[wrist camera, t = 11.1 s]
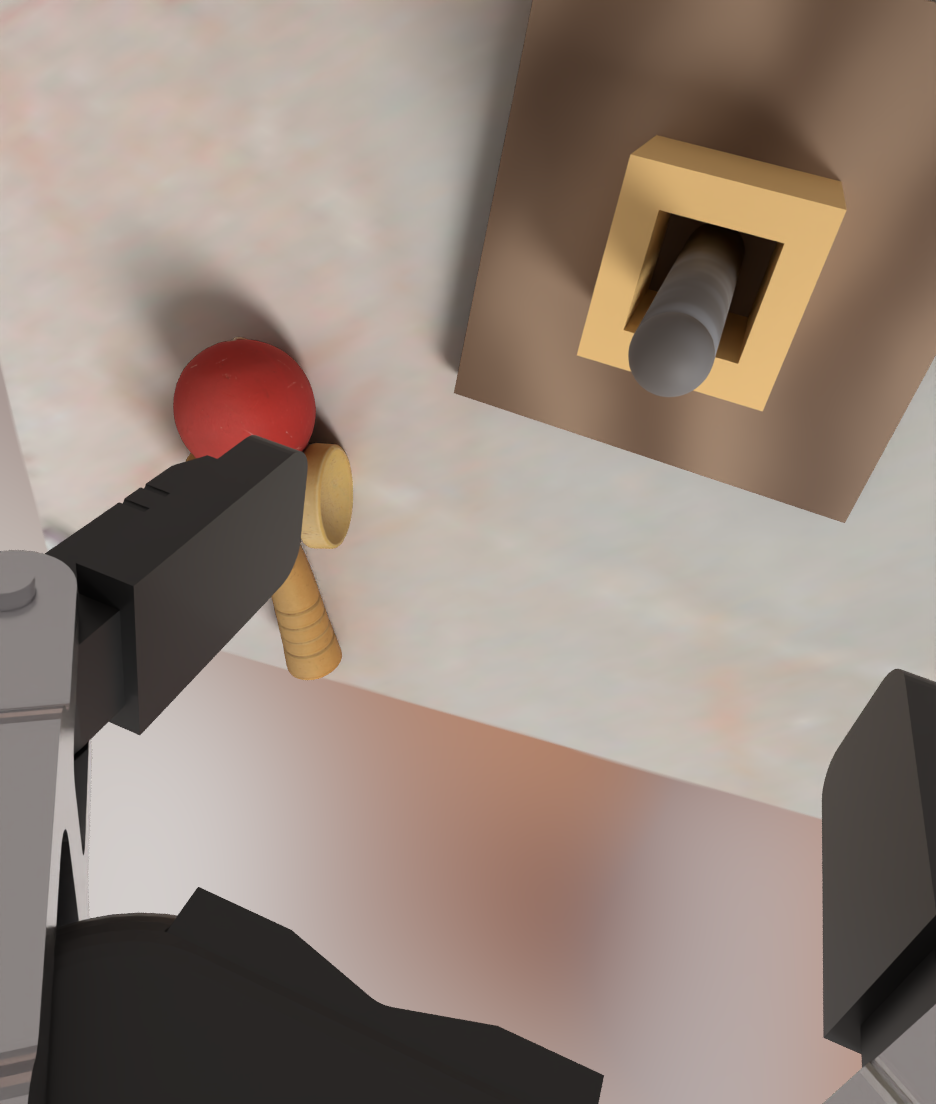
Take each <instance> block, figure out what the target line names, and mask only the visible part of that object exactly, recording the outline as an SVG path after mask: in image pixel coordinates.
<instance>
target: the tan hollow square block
mask: <svg viewBox="0 0 936 1104" xmlns="http://www.w3.org/2000/svg"><path fill="white" fill-rule="evenodd" d="M846 211H847V209H846V203H845V198H844V193H843V187H842V182H841V181H837V180H833V179H829V178H825V177H821V176H817V175H813V174H809V173H805V172H801V171H797V170H793V169H789V168H785V167H781V166H777V165H774V164H770V163H766V162H762V161H758V160H754V159H750V158H746V157H742V156H738V155H734V154H730V153H726V152H722V151H718V150H714V149H710V148H706V147H702V146H698V145H694V144H690V143H686V142H682V141H678V140H674V139H670V138H666V137H662V136H658V135H656V136H655V137H653V138H652V139H651V140H649V141H648V142H647V143H645V144H644V145H642V146H641V147H640V148H638V149H637V150H636V151H634V152H633V153H632V154H630V158H629V162H628V165H627V169H626V173H625V177H624V180H623V184H622V188H621V191H620V195H619V199H618V203H617V206H616V210H615V214H614V218H613V221H612V225H611V229H610V233H609V236H608V240H607V244H606V248H605V251H604V255H603V259H602V262H601V266H600V270H599V274H598V277H597V281H596V285H595V289H594V292H593V296H592V300H591V304H590V307H589V311H588V315H587V318H586V322H585V326H584V330H583V333H582V337H581V341H580V345H579V348H578V352H577V356H581V357H584V358H587V359H591V360H594V361H597V362H601V363H604V364H607V365H611V366H614V367H617V368H620V369H624V370H627V371H630V372H631V370H630V366H629V360H628V352H629V346H630V342H631V340H632V337H633V335H634V333H635V332H636V330H637V328H638V326H639V325H640V323H641V321H642V319H643V317H644V316H645V314H646V312H647V310H648V309H649V307H650V305H651V303H652V302H653V300H654V298H655V296H656V294H657V293H658V292H657V291H653V290H650V289H649V285H650V282H651V279H652V275H653V272H654V269H655V266H656V262H657V259H658V256H659V252H660V249H661V246H662V243H663V239H664V236H665V233H666V229H667V226H668V223H669V220H670V216H671V213H672V214H676V215H680V216H684V217H687V218H691V219H695V220H699V221H702V222H706V223H710V224H714V225H717V226H721V227H725V228H729V229H732V230H736V231H740V232H744V233H747V234H751V235H755V236H759V237H762V238H766V239H770V240H774V241H777V243H776V245H775V248H774V251H773V253H772V256H771V259H770V261H769V264H768V266H767V269H766V272H765V274H764V277H763V280H762V282H761V285H760V288H759V290H758V293H757V295H756V298H755V301H754V303H753V306H752V309H751V311H750V314H749V316H748V317H745V316H741V315H738V314H734V313H730V312H728V314H727V318H726V321H725V325H724V328H723V332H722V335H721V339H720V342H719V346H718V349H717V353H716V356H715V360H714V363H713V366H712V369H711V371H710V373H709V375H708V376H707V378H706V379H705V380H704V382H703V383H702V384H701V385H699V386H698V387H697V388H696V389H694V390H693V391H697V392H700V393H703V394H706V395H710V396H713V397H716V398H720V399H723V400H726V401H730V402H733V403H736V404H740V405H743V406H746V407H749V408H753V409H756V410H759V411H763V409H764V407H765V405H766V402H767V400H768V397H769V395H770V393H771V390H772V388H773V385H774V383H775V381H776V378H777V376H778V374H779V371H780V369H781V366H782V364H783V362H784V359H785V357H786V354H787V352H788V350H789V347H790V345H791V342H792V340H793V338H794V335H795V333H796V330H797V328H798V326H799V323H800V321H801V318H802V316H803V314H804V311H805V309H806V306H807V304H808V302H809V299H810V297H811V294H812V292H813V290H814V287H815V285H816V282H817V280H818V278H819V275H820V273H821V270H822V268H823V266H824V263H825V261H826V259H827V256H828V254H829V251H830V249H831V247H832V244H833V242H834V239H835V237H836V235H837V232H838V230H839V227H840V225H841V223H842V220H843V218H844V215H845V213H846Z"/></svg>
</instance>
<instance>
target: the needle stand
mask: <svg viewBox="0 0 936 1104" xmlns="http://www.w3.org/2000/svg"><path fill="white" fill-rule="evenodd" d="M656 135H658V136H662V137H666V138H670V139H674V140H678V141H682V142H686V143H690V144H694V145H698V146H702V147H706V148H710V149H714V150H718V151H722V152H726V153H730V154H734V155H738V156H742V157H746V158H750V159H754V160H758V161H762V162H766V163H770V164H774V165H777V166H781V167H785V168H789V169H793V170H797V171H801V172H805V173H809V174H813V175H817V176H821V177H825V178H829V179H833V180H837V181H841V182H842V187H843V193H844V198H845V203H846V209H847V211H846V213H845V215H844V218H843V220H842V223H841V225H840V227H839V230H838V232H837V235H836V237H835V239H834V242H833V244H832V247H831V249H830V251H829V254H828V256H827V259H826V261H825V263H824V266H823V268H822V270H821V273H820V275H819V278H818V280H817V282H816V285H815V287H814V290H813V292H812V294H811V297H810V299H809V302H808V304H807V306H806V309H805V311H804V314H803V316H802V318H801V321H800V323H799V326H798V328H797V330H796V333H795V335H794V338H793V340H792V342H791V345H790V347H789V350H788V352H787V354H786V357H785V359H784V362H783V364H782V366H781V369H780V371H779V374H778V376H777V378H776V381H775V383H774V385H773V388H772V390H771V393H770V395H769V397H768V400H767V402H766V405H765V407H764V409H763V411H759V410H756V409H753V408H749V407H746V406H743V405H740V404H736V403H733V402H730V401H726V400H723V399H720V398H716V397H713V396H710V395H706V394H703V393H700V392H697V391H693V390H694V389H696V388H697V387H698V386H699V385H701V384H702V383H703V382H704V380H705V379H706V378H707V376H708V375H709V373H710V371H711V369H712V366H713V363H714V360H715V356H716V353H717V349H718V346H719V342H720V339H721V335H722V332H723V328H724V325H725V321H726V318H727V314H728V312H730V313H734V314H738V315H741V316H745V317H748V316H749V314H750V311H751V309H752V306H753V303H754V301H755V298H756V295H757V293H758V290H759V288H760V285H761V282H762V280H763V277H764V274H765V272H766V269H767V266H768V264H769V261H770V259H771V256H772V253H773V251H774V248H775V245H776V243H777V241H774V240H770V239H766V238H762V237H759V236H755V235H751V234H747V233H744V232H740V231H736V230H732V229H729V228H725V227H721V226H717V225H714V224H710V223H706V222H702V221H699V220H695V219H691V218H687V217H684V216H680V215H676V214H672V213H671V216H670V220H669V223H668V226H667V229H666V233H665V236H664V239H663V243H662V246H661V249H660V252H659V256H658V259H657V262H656V266H655V269H654V272H653V275H652V279H651V282H650V285H649V289H650V290H653V291H657V292H658V293H657V294H656V296H655V298H654V300H653V302H652V303H651V305H650V307H649V309H648V310H647V312H646V314H645V316H644V317H643V319H642V321H641V323H640V325H639V326H638V328H637V330H636V332H635V333H634V335H633V337H632V340H631V342H630V346H629V352H628V360H629V366H630V370H631V372H630V371H627V370H624V369H620V368H617V367H614V366H611V365H607V364H604V363H601V362H597V361H594V360H591V359H587V358H584V357H581V356H577V352H578V348H579V345H580V341H581V337H582V333H583V330H584V326H585V322H586V318H587V315H588V311H589V307H590V304H591V300H592V296H593V292H594V289H595V285H596V281H597V277H598V274H599V270H600V266H601V262H602V259H603V255H604V251H605V248H606V244H607V240H608V236H609V233H610V229H611V225H612V221H613V218H614V214H615V210H616V206H617V203H618V199H619V195H620V191H621V188H622V184H623V180H624V177H625V173H626V169H627V165H628V162H629V158H630V154H632V153H633V152H634V151H636V150H637V149H638V148H640V147H641V146H642V145H644V144H645V143H647V142H648V141H649V140H651V139H652V138H653V137H655V136H656ZM935 355H936V2H932V1H928V0H533V1H532V6H531V11H530V16H529V21H528V26H527V31H526V36H525V41H524V46H523V51H522V56H521V61H520V66H519V71H518V76H517V81H516V86H515V91H514V96H513V101H512V106H511V111H510V116H509V121H508V126H507V131H506V135H505V140H504V145H503V150H502V155H501V160H500V165H499V170H498V175H497V180H496V185H495V190H494V195H493V200H492V205H491V210H490V215H489V220H488V225H487V230H486V235H485V240H484V245H483V250H482V255H481V260H480V265H479V270H478V275H477V280H476V285H475V290H474V295H473V300H472V305H471V310H470V315H469V320H468V325H467V330H466V335H465V340H464V345H463V350H462V355H461V360H460V365H459V370H458V375H457V380H456V385H455V390H454V393H456V394H459V395H462V396H465V397H468V398H471V399H474V400H477V401H480V402H483V403H486V404H489V405H492V406H495V407H498V408H501V409H504V410H507V411H510V412H513V413H516V414H519V415H522V416H525V417H528V418H531V419H534V420H537V421H540V422H543V423H546V424H549V425H552V426H555V427H558V428H561V429H564V430H567V431H570V432H573V433H576V434H579V435H582V436H585V437H588V438H591V439H594V440H597V441H600V442H603V443H606V444H609V445H612V446H615V447H618V448H621V449H624V450H627V451H630V452H633V453H636V454H639V455H642V456H645V457H648V458H651V459H654V460H657V461H660V462H663V463H666V464H669V465H672V466H675V467H678V468H681V469H684V470H687V471H690V472H693V473H696V474H699V475H702V476H705V477H708V478H711V479H714V480H717V481H720V482H723V483H726V484H729V485H732V486H735V487H738V488H741V489H744V490H747V491H750V492H753V493H756V494H759V495H762V496H765V497H768V498H771V499H774V500H777V501H780V502H783V503H786V504H789V505H792V506H795V507H798V508H801V509H804V510H807V511H810V512H813V513H816V514H819V515H822V516H825V517H828V518H831V519H834V520H837V521H840V522H843V523H845V522H846V520H847V518H848V516H849V514H850V512H851V510H852V509H853V507H854V505H855V503H856V501H857V499H858V498H859V496H860V494H861V492H862V490H863V488H864V486H865V485H866V483H867V481H868V479H869V477H870V475H871V474H872V472H873V470H874V468H875V466H876V464H877V462H878V461H879V459H880V457H881V455H882V453H883V451H884V450H885V448H886V446H887V444H888V442H889V440H890V438H891V437H892V435H893V433H894V431H895V429H896V427H897V426H898V424H899V422H900V420H901V418H902V416H903V414H904V413H905V411H906V409H907V407H908V405H909V403H910V402H911V400H912V398H913V396H914V394H915V392H916V390H917V389H918V387H919V385H920V383H921V381H922V379H923V378H924V376H925V374H926V372H927V370H928V368H929V367H930V365H931V363H932V361H933V359H934V357H935Z"/></svg>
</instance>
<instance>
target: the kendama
mask: <svg viewBox="0 0 936 1104" xmlns="http://www.w3.org/2000/svg"><path fill="white" fill-rule="evenodd" d="M173 409H174V419H175V423H176V427H177V430H178V432H179V434H180V437H181V439H182V441H183V442H184V444H185V445H186V447H187V448H188V449H189V451H190V452H191V453H190V455H189V456H188V458H187V460H186V462H187V461H190V460H193V459H196V458H200V457H203V456H206V455H208V456H211V457H214V458H217V459H218V458H219V457H221V456H222V455H223V454H225V453H226V452H227V451H229V450H230V449H232V448H233V447H234V446H236V445H237V444H238V443H240V442H241V441H242V440H244V439H245V438H247V437H248V436H251V435H257V436H260V437H262V438H265V439H268V440H271V441H274V442H276V443H279V444H282V445H285V446H287V447H290V448H293V449H296V450H298V451H301V452H303V453H304V454H305V455H306V457H307V463H308V470H307V481H306V491H305V501H304V511H303V522H302V532H301V540H302V541H303V543H304V544H305V545H306V546H308V547H310V548H326V549H333V548H337V547H338V546H339V545H340V544H341V543H342V542H343V540H344V538H345V536H346V534H347V531H348V528H349V524H350V520H351V514H352V507H353V481H352V473H351V468H350V463H349V460H348V458H347V455H346V453H345V452H344V450H343V449H342V448H341V447H340V446H339V445H336V444H323V443H313V444H311V445H309V444H308V442H309V439H310V437H311V435H312V432H313V428H314V424H315V417H316V407H315V399H314V395H313V391H312V388H311V385H310V383H309V380H308V379H307V377H306V375H305V373H304V372H303V370H302V369H301V368H300V366H299V365H298V364H297V363H296V362H295V361H294V360H293V359H292V358H291V357H290V356H289V355H288V354H286V353H285V352H284V351H282V350H280V349H278V348H277V347H274V346H272V345H270V344H267V343H264V342H260V341H255V340H248V339H246V338H242V337H236V338H234V339H233V340H230V341H225V342H221V343H217V344H215V345H213V346H211V347H209V348H207V349H205V350H203V351H202V352H201V353H199V354H198V355H197V356H196V357H194V358H193V359H192V360H191V361H190V362H189V363H188V365H187V366H186V367H185V368H184V370H183V372H182V373H181V375H180V378H179V379H178V382H177V384H176V389H175V393H174V403H173ZM271 597H272V601H273V604H274V609H275V613H276V617H277V620H278V626H279V630H280V633H281V639H282V643H283V648H284V654H285V659H286V664H287V667H288V670H289V672H290V673H291V674H292V675H293V676H294V677H296V678H298V679H302V680H314V679H319V678H322V677H324V676H326V675H328V674H329V673H331V672H332V671H333V670H334V669H335V668H336V667H337V666H338V665H339V663H340V661H341V658H342V652H341V648H340V646H339V644H338V641H337V639H336V636H335V634H334V632H333V628H332V626H331V623H330V621H329V618H328V615H327V612H326V610H325V607H324V604H323V601H322V598H321V595H320V593H319V590H318V587H317V584H316V581H315V578H314V575H313V573H312V570H311V567H310V565H309V562H308V560H307V558H306V556H305V553H304V551H303V549H302V547H301V545H300V548H299V552H298V556H297V559H296V561H295V564H294V566H293V569H292V571H291V572H290V574H289V576H288V578H287V579H286V581H285V582H284V583H283V585H282V586H281V587H280V588H279V589H278V590H277V591H276V592H275V593H274V594H273V595H272V596H271Z"/></svg>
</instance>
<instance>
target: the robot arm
mask: <svg viewBox="0 0 936 1104" xmlns="http://www.w3.org/2000/svg"><path fill="white" fill-rule="evenodd" d="M307 470H308V463H307V457H306V455H305V454H304V453H303V452H301V451H298V450H296V449H293V448H290V447H287V446H285V445H282V444H279V443H276V442H274V441H271V440H268V439H265V438H262V437H260V436H257V435H251V436H248V437H247V438H245V439H244V440H242V441H241V442H240V443H238V444H237V445H236V446H234V447H233V448H232V449H230V450H229V451H227V452H226V453H225V454H223V455H222V456H221V457H219V458H218V459H217V458H214V457H211V456H208V455H206V456H203V457H200V458H196V459H193V460H190V461H187V462H183V463H180V464H177V465H173V466H171V467H170V468H168V469H167V470H165V471H164V472H162V473H161V474H159V475H158V476H157V477H155V478H154V479H152V480H151V481H149V482H148V483H146V486H145V488H144V489H143V488H139V489H138V490H136V491H135V492H133V493H132V494H131V495H129V496H128V497H126V498H125V499H124V502H123V504H122V503H117V504H116V505H115V506H113V507H112V508H110V509H109V510H107V511H106V512H104V513H103V514H102V515H100V516H99V517H97V518H96V519H94V520H93V521H91V522H90V523H89V524H87V525H86V526H84V527H83V528H81V529H80V530H78V531H77V532H76V533H74V534H73V535H71V536H70V537H68V538H67V539H65V540H64V541H63V542H61V543H60V544H58V545H57V546H55V547H54V548H52V549H51V550H49V551H48V552H47V553H45V554H43V553H38V552H33V551H24V550H22V551H21V550H9V551H0V1104H598V1102H599V1097H600V1092H601V1088H602V1082H603V1077H604V1075H602V1074H600V1073H598V1072H595V1071H593V1070H591V1069H589V1068H587V1067H585V1066H583V1065H580V1064H578V1063H576V1062H574V1061H572V1060H570V1059H567V1058H565V1057H563V1056H561V1055H559V1054H557V1053H555V1052H552V1051H550V1050H548V1049H546V1048H544V1047H542V1046H540V1045H537V1044H535V1043H533V1042H531V1041H529V1040H527V1039H524V1038H522V1037H520V1036H518V1035H516V1034H514V1033H511V1032H509V1031H507V1030H505V1029H503V1028H501V1027H499V1026H494V1025H488V1024H483V1023H478V1022H472V1021H467V1020H461V1019H455V1018H450V1017H444V1016H438V1015H433V1014H427V1013H422V1012H416V1011H410V1010H405V1009H399V1008H393V1007H389V1006H385V1005H383V1004H381V1003H379V1002H377V1001H375V1000H374V999H372V998H371V997H370V996H369V995H367V994H366V993H365V992H364V991H363V990H362V989H360V988H359V987H358V986H357V985H355V984H354V983H353V982H352V981H351V980H350V979H349V978H347V977H346V976H345V975H344V974H343V973H341V972H340V971H339V970H338V969H337V968H336V967H334V966H333V965H332V964H331V963H330V962H329V961H327V960H326V959H325V958H324V957H323V956H321V955H320V954H319V953H318V952H317V951H316V950H314V949H313V948H312V947H311V946H310V945H308V944H307V943H306V942H305V941H303V940H302V939H301V938H300V937H299V936H298V935H297V934H295V933H294V932H293V931H292V930H290V929H288V928H286V927H283V926H281V925H279V924H277V923H275V922H273V921H270V920H269V919H266V918H264V917H262V916H260V915H258V914H256V913H253V912H251V911H249V910H247V909H245V908H243V907H241V906H238V905H236V904H234V903H232V902H230V901H228V900H225V899H223V898H221V897H219V896H217V895H215V894H213V893H210V892H208V891H206V890H204V889H202V888H200V887H198V888H197V889H196V891H195V892H194V893H193V895H192V896H191V898H190V899H189V900H188V902H187V903H186V905H185V906H184V907H183V909H182V910H181V912H180V913H179V914H178V916H176V915H170V914H156V913H128V914H113V915H107V916H101V917H96V918H90V919H89V903H88V902H89V901H88V862H89V831H90V801H91V771H92V770H91V769H92V745H91V738H92V737H93V736H94V735H95V734H96V733H97V732H98V731H99V730H100V729H101V728H102V727H103V726H104V725H106V724H107V723H108V722H111V723H113V724H115V725H118V726H120V727H122V728H125V729H127V730H129V731H131V732H134V733H136V734H138V735H141V734H142V733H143V731H145V729H146V728H147V727H148V726H149V725H150V724H151V723H152V722H153V721H154V720H155V719H156V718H157V717H158V716H159V715H160V714H161V712H162V711H163V710H164V709H165V708H166V707H167V706H168V705H169V704H170V703H171V702H172V701H173V700H174V699H175V698H176V696H178V695H179V693H180V692H181V691H182V690H183V689H184V688H185V687H186V686H187V685H188V684H189V683H190V682H191V681H192V680H193V679H194V678H195V676H196V675H198V673H199V672H200V671H201V670H202V669H203V668H204V667H205V666H206V665H207V664H208V663H209V662H210V661H211V660H212V659H213V657H215V655H216V654H217V653H218V652H219V651H220V650H221V649H222V648H223V647H224V646H225V645H226V644H227V643H228V642H229V641H230V640H231V639H232V638H233V636H234V635H235V634H236V633H237V632H238V631H239V630H240V629H241V628H242V627H243V626H244V625H245V624H246V623H247V622H248V621H249V620H250V619H251V617H252V616H253V615H254V614H255V613H256V612H257V611H258V610H259V609H260V608H261V607H262V606H263V605H264V604H265V603H266V602H267V601H268V599H269V598H270V597H271V596H272V595H273V594H274V593H275V592H276V591H277V590H278V589H279V588H280V587H281V586H282V585H283V583H284V582H285V581H286V579H287V578H288V576H289V574H290V572H291V571H292V569H293V566H294V564H295V561H296V559H297V556H298V552H299V548H300V542H301V532H302V522H303V511H304V501H305V491H306V481H307ZM822 860H823V861H822V864H823V865H822V866H823V867H822V869H823V872H822V873H823V1014H824V1015H823V1016H824V1017H823V1020H824V1021H823V1022H824V1038H826V1039H828V1040H830V1041H832V1042H835V1043H837V1044H839V1045H842V1046H844V1047H846V1048H848V1049H851V1050H853V1051H855V1052H858V1053H860V1054H862V1069H861V1070H859V1071H858V1072H857V1073H856V1074H855V1075H854V1076H853V1077H852V1078H850V1079H849V1080H848V1081H847V1082H846V1083H845V1084H844V1085H843V1086H842V1087H841V1088H839V1089H838V1090H837V1091H836V1092H835V1093H834V1094H833V1095H832V1096H831V1097H829V1098H828V1099H827V1100H826V1101H825V1102H824V1103H823V1104H936V682H934V681H931V680H929V679H926V678H923V677H920V676H918V675H915V674H912V673H909V672H906V671H904V670H901V669H894V670H893V671H891V672H890V673H889V674H888V675H887V676H886V677H885V678H884V680H883V681H882V682H881V684H880V686H879V687H878V689H877V690H876V692H875V693H874V695H873V696H872V698H871V699H870V701H869V702H868V704H867V705H866V707H865V708H864V710H863V711H862V713H861V714H860V716H859V717H858V719H857V720H856V722H855V723H854V725H853V726H852V728H851V729H850V731H849V732H848V734H847V735H846V737H845V738H844V740H843V741H842V743H841V744H840V746H839V747H838V749H837V751H836V752H835V754H834V756H833V758H832V761H831V763H830V765H829V768H828V771H827V774H826V777H825V781H824V786H823V793H822Z"/></svg>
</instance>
